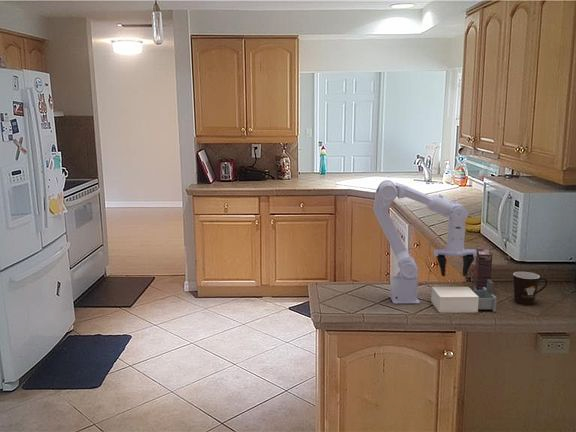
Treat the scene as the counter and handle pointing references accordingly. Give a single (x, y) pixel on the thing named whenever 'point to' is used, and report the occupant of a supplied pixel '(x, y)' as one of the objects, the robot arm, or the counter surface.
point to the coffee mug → (526, 287)
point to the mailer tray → (486, 297)
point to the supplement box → (482, 268)
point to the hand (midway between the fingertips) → (453, 275)
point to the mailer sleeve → (454, 299)
